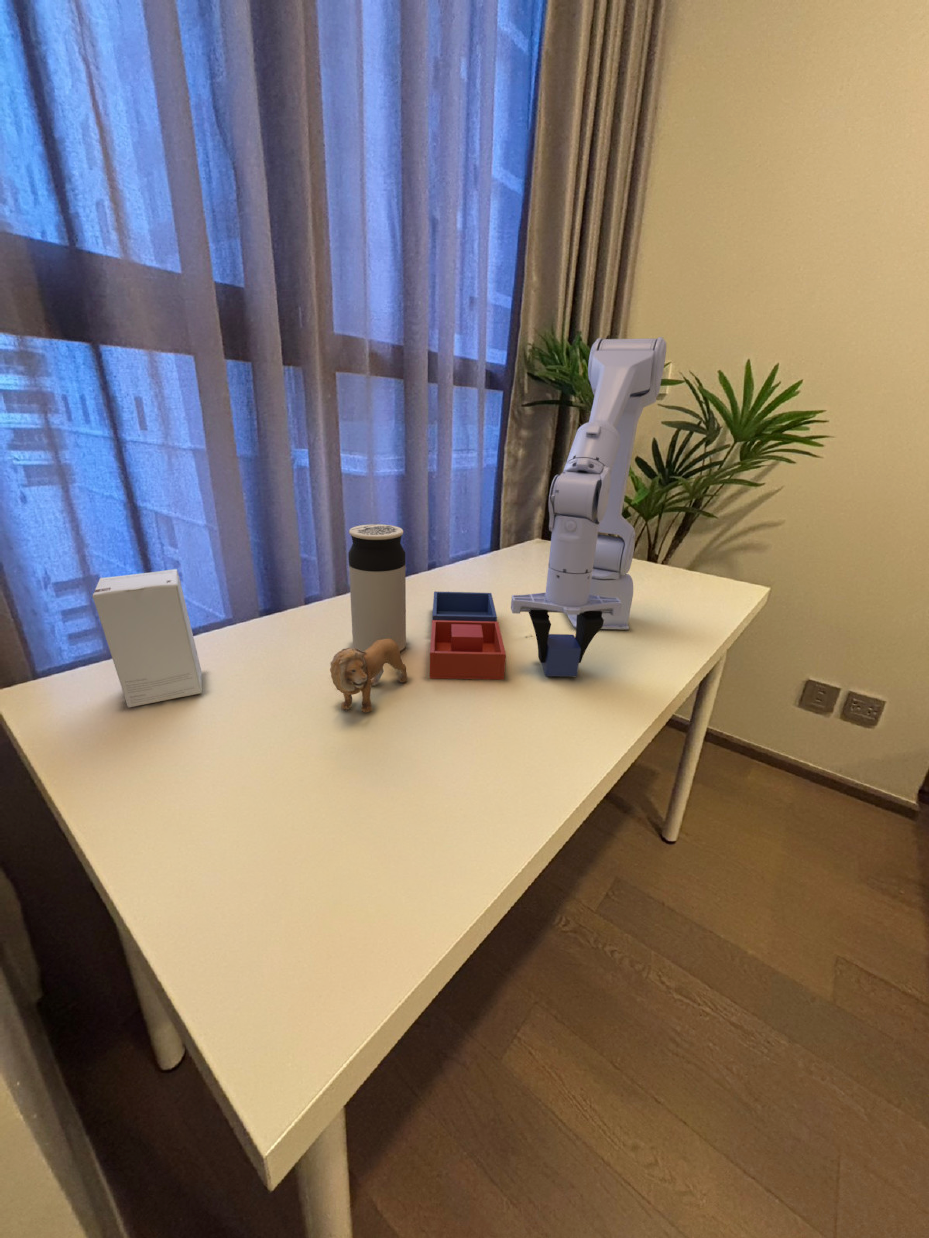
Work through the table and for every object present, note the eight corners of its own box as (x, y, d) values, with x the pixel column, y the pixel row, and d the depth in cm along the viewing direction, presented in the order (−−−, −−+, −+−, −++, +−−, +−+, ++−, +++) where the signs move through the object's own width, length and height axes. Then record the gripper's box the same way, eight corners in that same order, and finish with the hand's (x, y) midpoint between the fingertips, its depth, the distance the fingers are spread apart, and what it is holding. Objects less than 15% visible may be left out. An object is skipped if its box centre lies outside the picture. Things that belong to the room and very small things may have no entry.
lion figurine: (363, 733, 57) (360, 662, 53) (322, 723, 58) (316, 653, 55) (414, 673, 70) (414, 613, 66) (379, 666, 71) (377, 607, 67)
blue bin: (490, 612, 91) (491, 592, 90) (495, 639, 81) (497, 616, 79) (433, 611, 91) (434, 591, 89) (432, 638, 81) (432, 615, 79)
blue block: (569, 661, 74) (573, 634, 72) (577, 676, 70) (581, 648, 68) (540, 661, 74) (543, 633, 72) (545, 676, 70) (548, 647, 68)
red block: (479, 651, 76) (481, 624, 74) (481, 665, 72) (483, 637, 70) (450, 650, 76) (451, 623, 74) (450, 664, 72) (451, 636, 70)
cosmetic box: (202, 674, 67) (182, 567, 61) (202, 696, 62) (180, 582, 56) (128, 686, 64) (99, 574, 58) (122, 710, 59) (90, 591, 53)
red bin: (496, 644, 79) (498, 621, 78) (504, 679, 69) (506, 654, 67) (431, 642, 79) (432, 619, 77) (429, 678, 69) (429, 652, 67)
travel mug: (416, 647, 77) (417, 531, 70) (375, 663, 72) (370, 539, 65) (383, 631, 82) (381, 521, 75) (342, 645, 77) (335, 528, 70)
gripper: (519, 575, 62) (511, 672, 67) (635, 578, 62) (618, 674, 68) (512, 559, 68) (505, 649, 74) (617, 562, 69) (603, 650, 74)
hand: (558, 659), depth 71 cm, fingers closed on blue block, 4 cm apart
